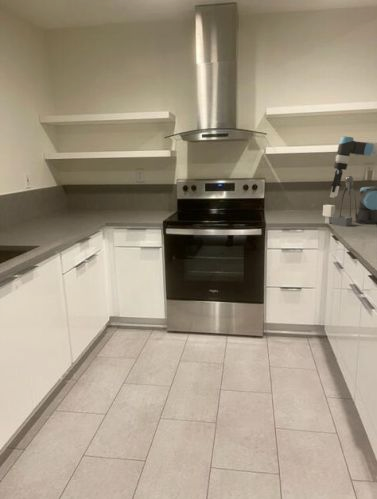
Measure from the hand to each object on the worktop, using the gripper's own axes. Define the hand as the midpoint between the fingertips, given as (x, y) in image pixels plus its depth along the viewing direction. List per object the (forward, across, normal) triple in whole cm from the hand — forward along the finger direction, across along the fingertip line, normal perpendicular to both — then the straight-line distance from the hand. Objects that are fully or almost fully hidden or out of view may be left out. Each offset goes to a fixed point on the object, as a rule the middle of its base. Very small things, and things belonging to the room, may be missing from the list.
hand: (333, 196), depth 240 cm
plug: (+18, -10, 0) cm, 21 cm away
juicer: (+16, -23, +11) cm, 30 cm away
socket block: (+17, -5, +8) cm, 20 cm away
